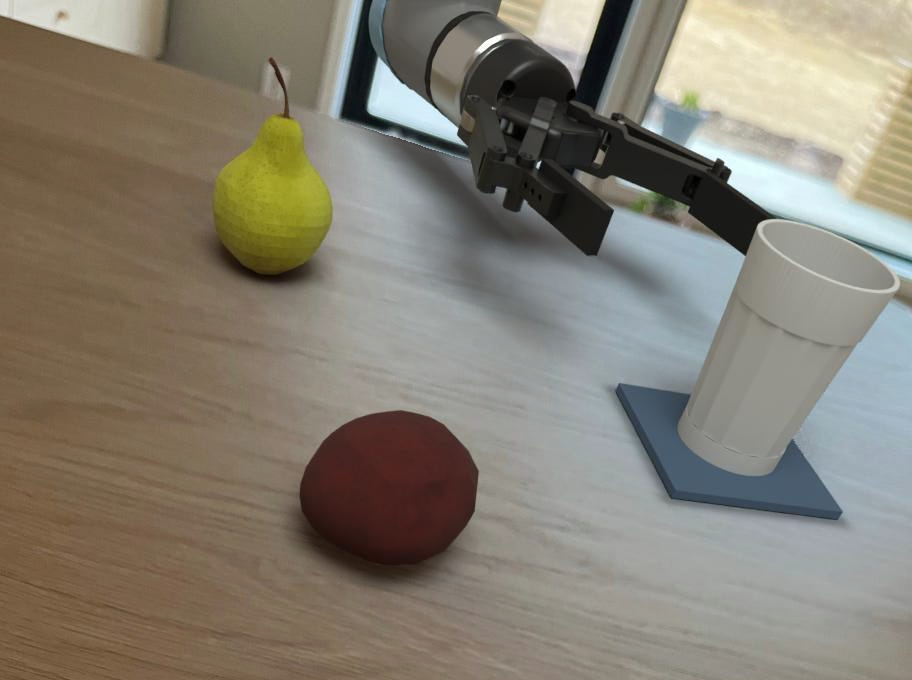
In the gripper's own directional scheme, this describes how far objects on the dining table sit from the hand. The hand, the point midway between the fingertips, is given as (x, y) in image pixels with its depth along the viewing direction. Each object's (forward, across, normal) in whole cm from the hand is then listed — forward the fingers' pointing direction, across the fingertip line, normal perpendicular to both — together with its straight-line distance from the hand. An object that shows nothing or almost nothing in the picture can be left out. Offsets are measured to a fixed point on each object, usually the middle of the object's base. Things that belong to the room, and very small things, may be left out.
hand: (686, 236), depth 63 cm
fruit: (-13, +21, -9) cm, 26 cm away
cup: (+10, 0, -8) cm, 13 cm away
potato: (+13, +26, -9) cm, 30 cm away
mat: (+10, 0, -9) cm, 13 cm away
